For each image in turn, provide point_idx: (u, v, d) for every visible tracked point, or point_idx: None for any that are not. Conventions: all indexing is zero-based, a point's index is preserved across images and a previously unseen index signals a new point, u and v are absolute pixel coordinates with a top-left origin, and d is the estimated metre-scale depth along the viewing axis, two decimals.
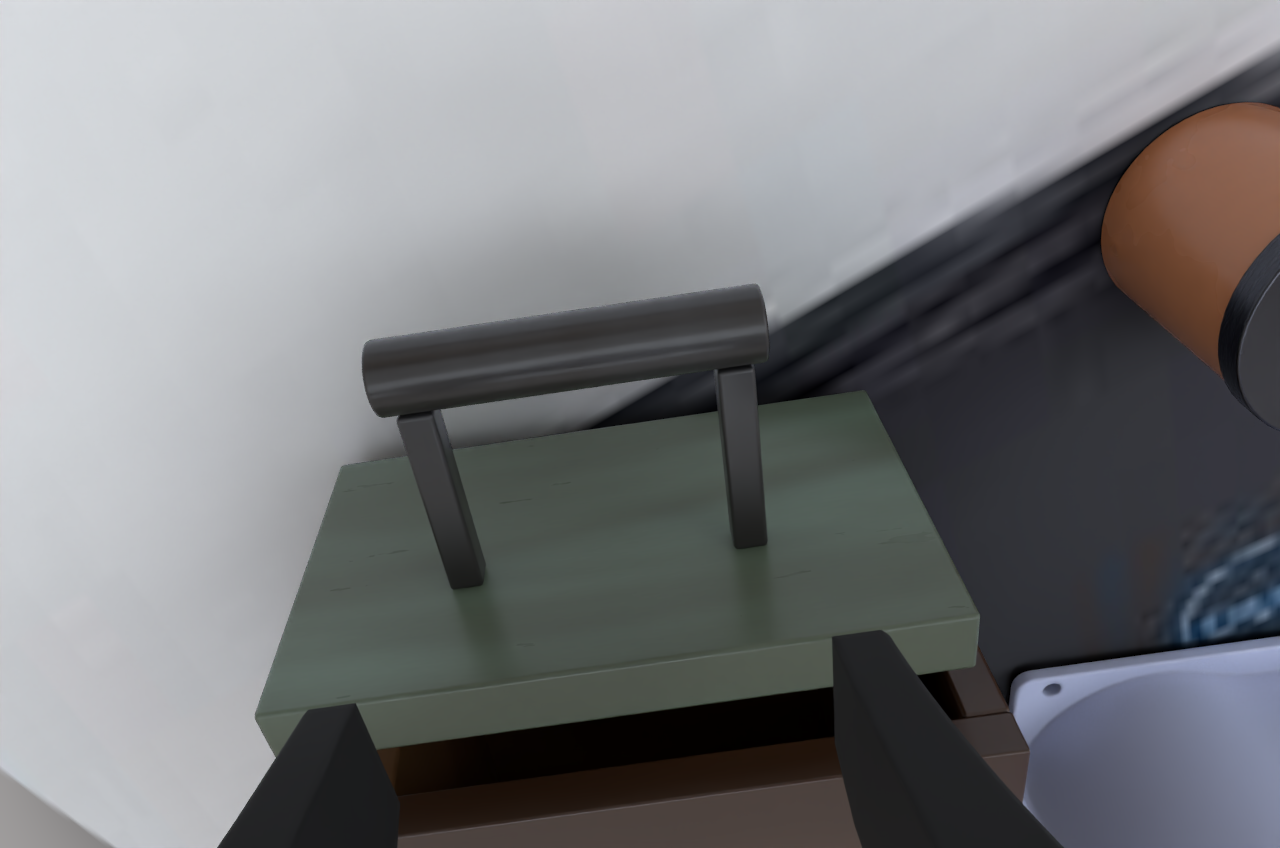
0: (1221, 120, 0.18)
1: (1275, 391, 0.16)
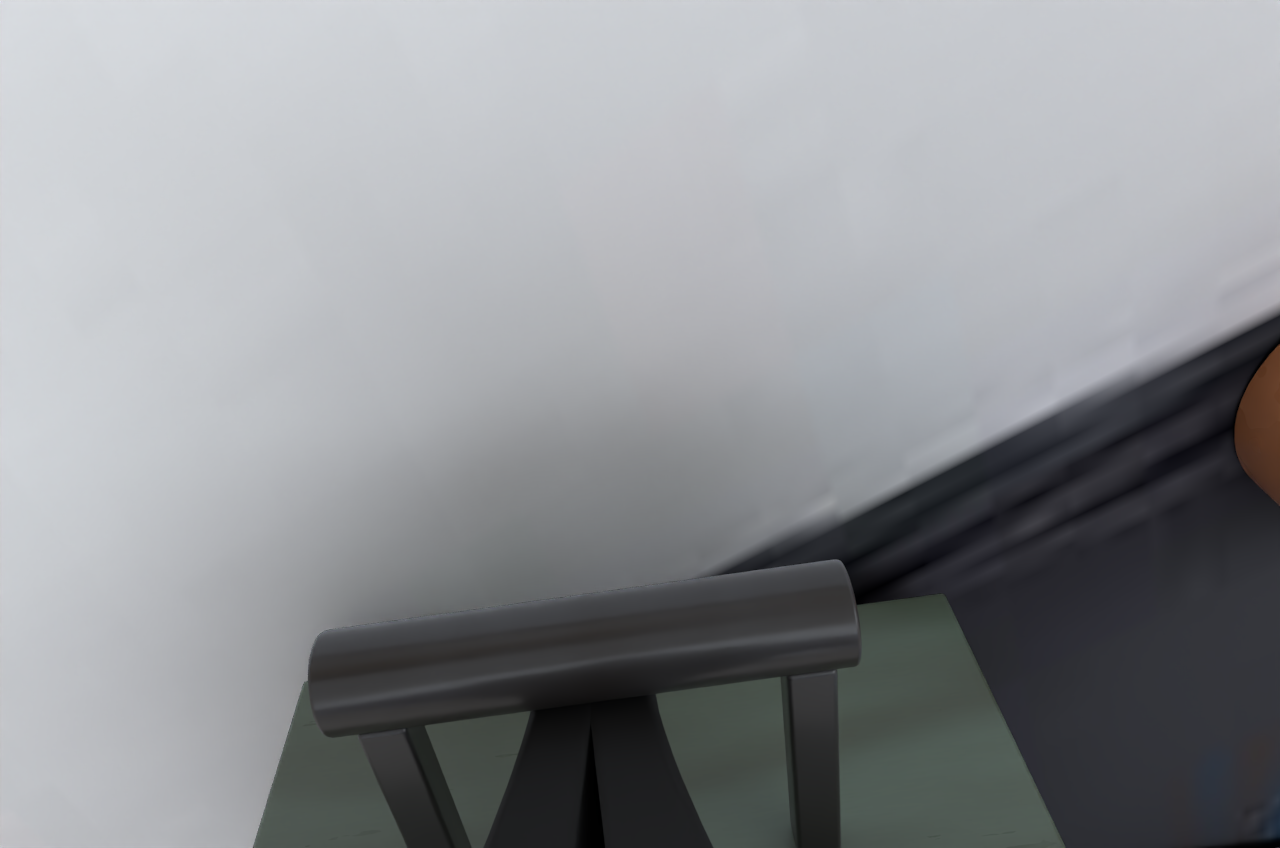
0: None
1: None
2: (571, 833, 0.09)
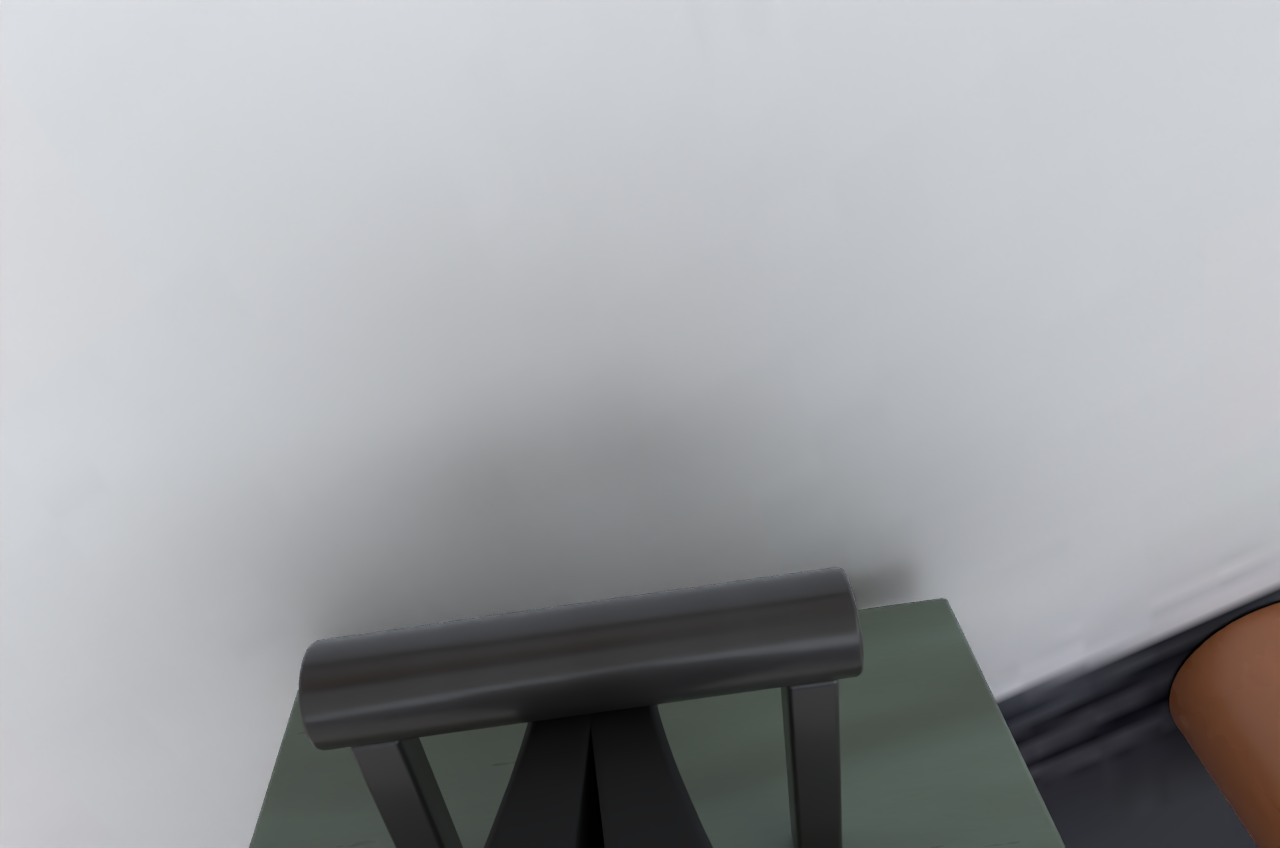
0: None
1: None
2: (571, 833, 0.09)
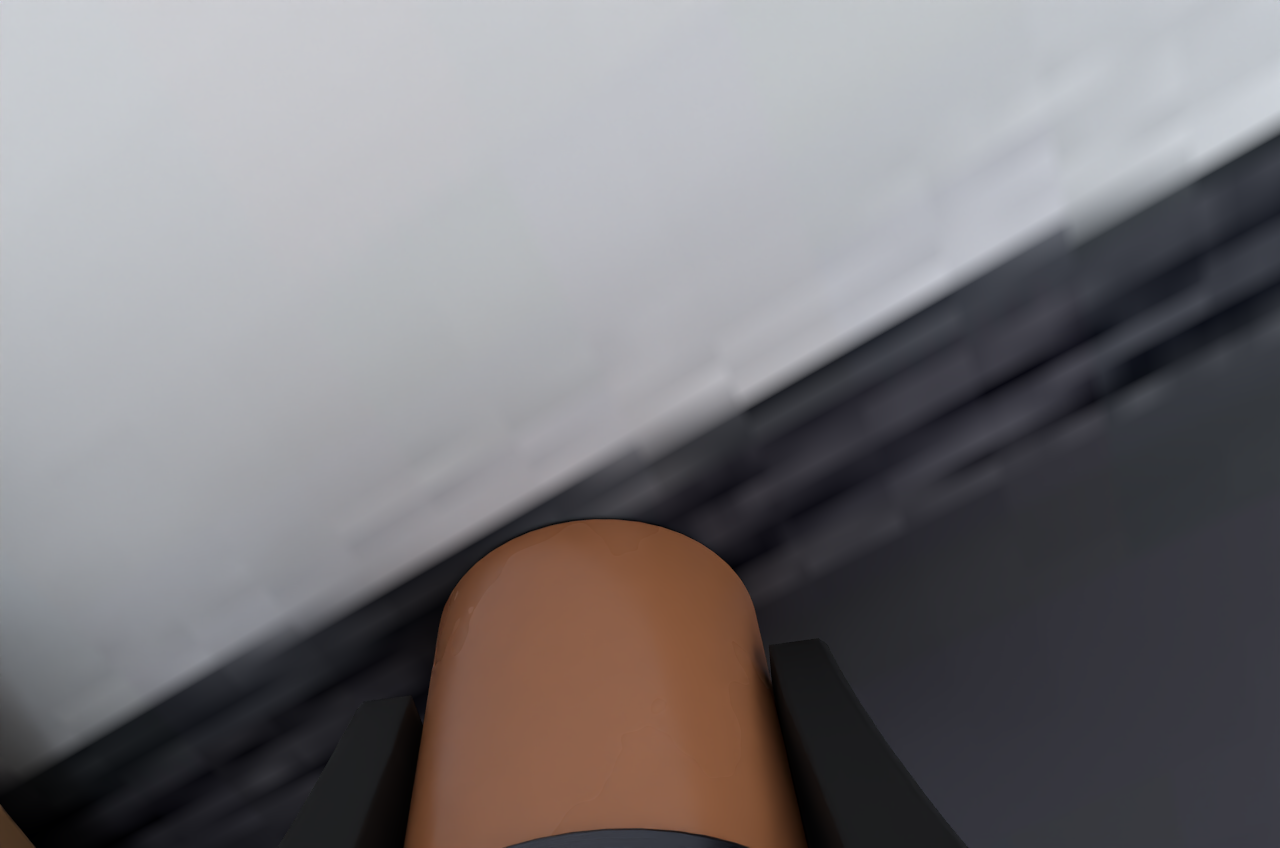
0: (528, 565, 0.11)
1: None
2: None
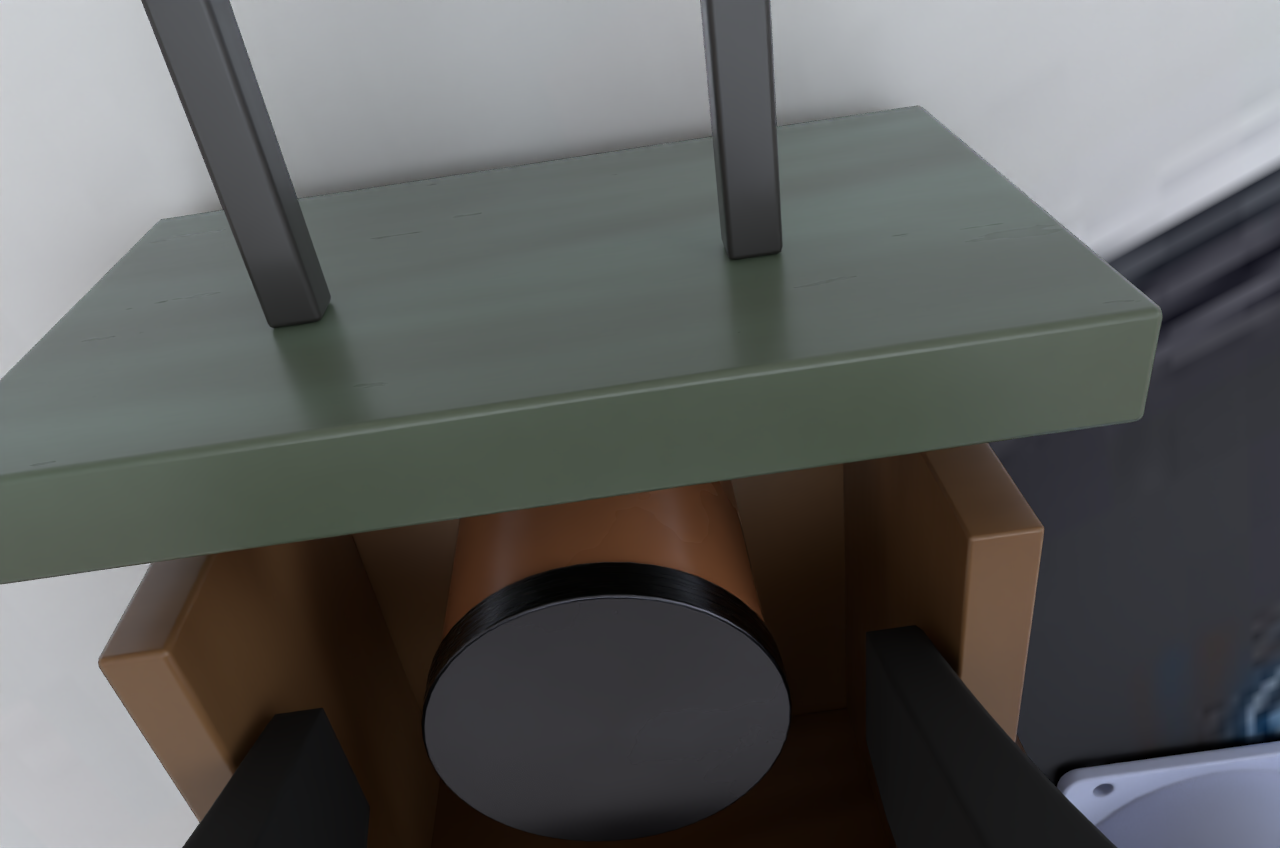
0: None
1: (508, 802, 0.12)
2: None
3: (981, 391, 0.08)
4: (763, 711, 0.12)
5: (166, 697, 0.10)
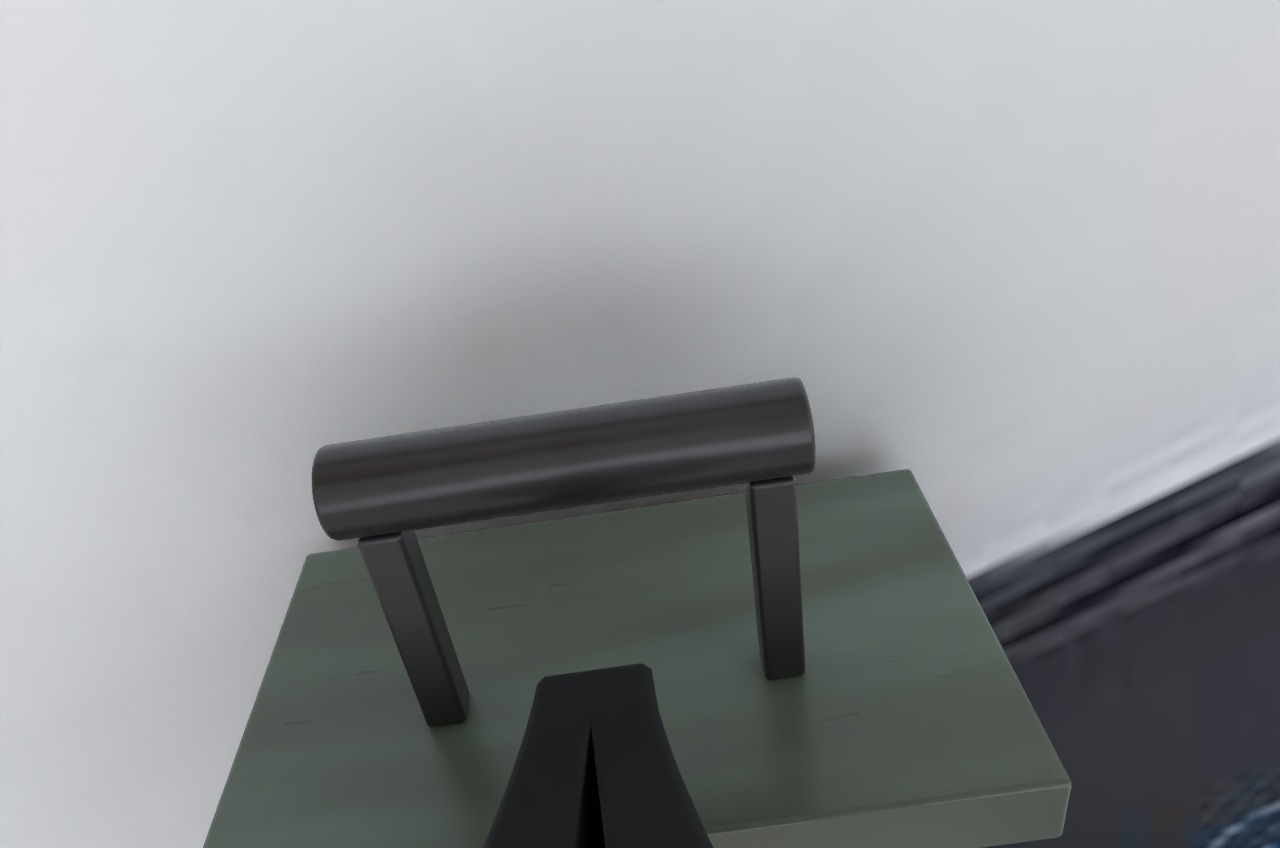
0: None
1: None
2: (571, 833, 0.09)
3: (947, 827, 0.12)
4: None
5: None
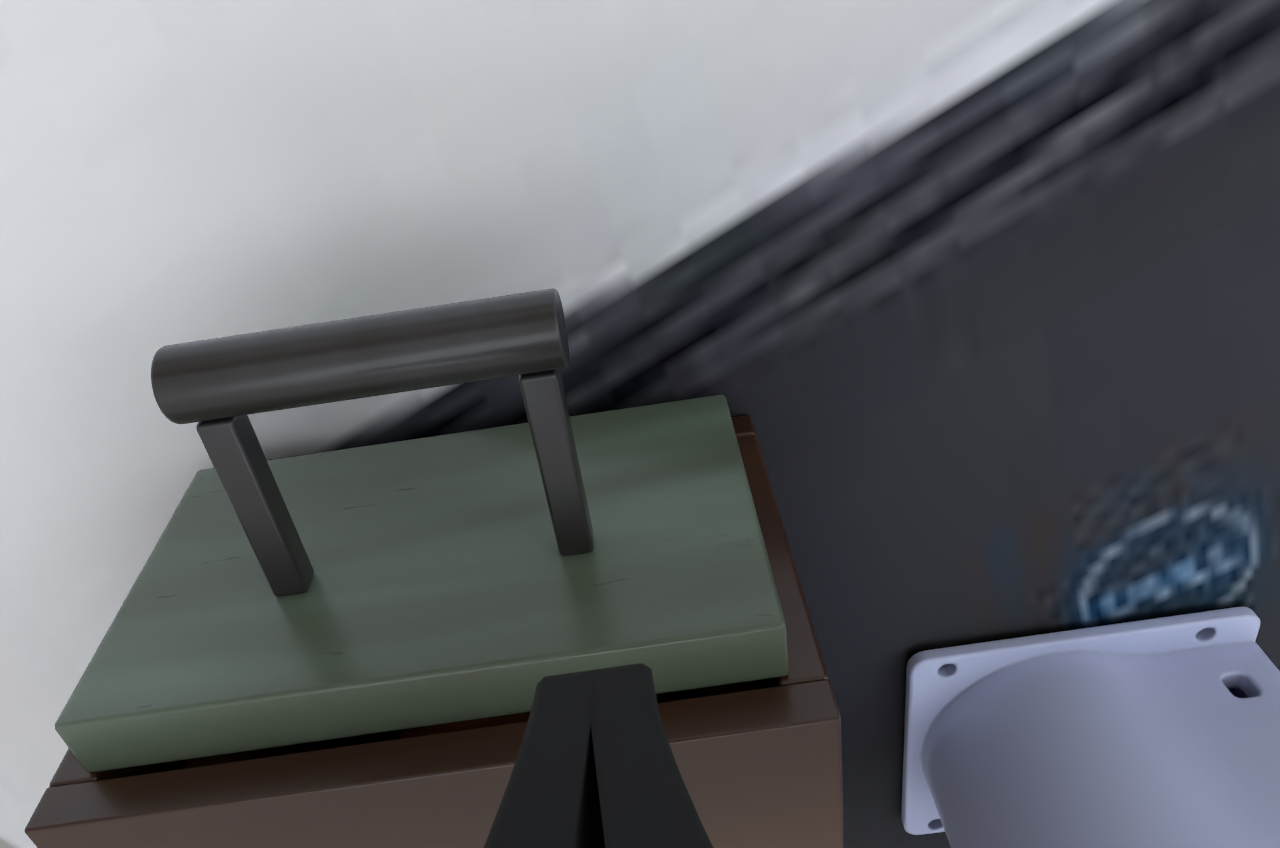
0: None
1: None
2: (571, 833, 0.09)
3: (687, 664, 0.15)
4: None
5: None
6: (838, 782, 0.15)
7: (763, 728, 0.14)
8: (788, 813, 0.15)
